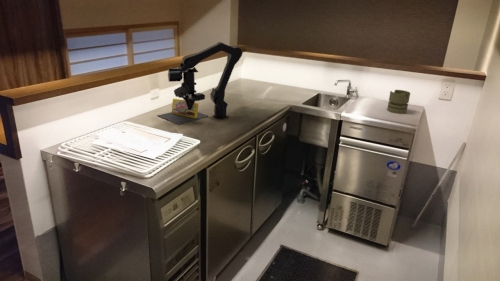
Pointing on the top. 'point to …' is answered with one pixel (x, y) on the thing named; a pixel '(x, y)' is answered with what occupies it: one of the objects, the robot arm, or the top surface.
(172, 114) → the mat
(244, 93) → the top surface
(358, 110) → the top surface
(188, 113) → the candy box
